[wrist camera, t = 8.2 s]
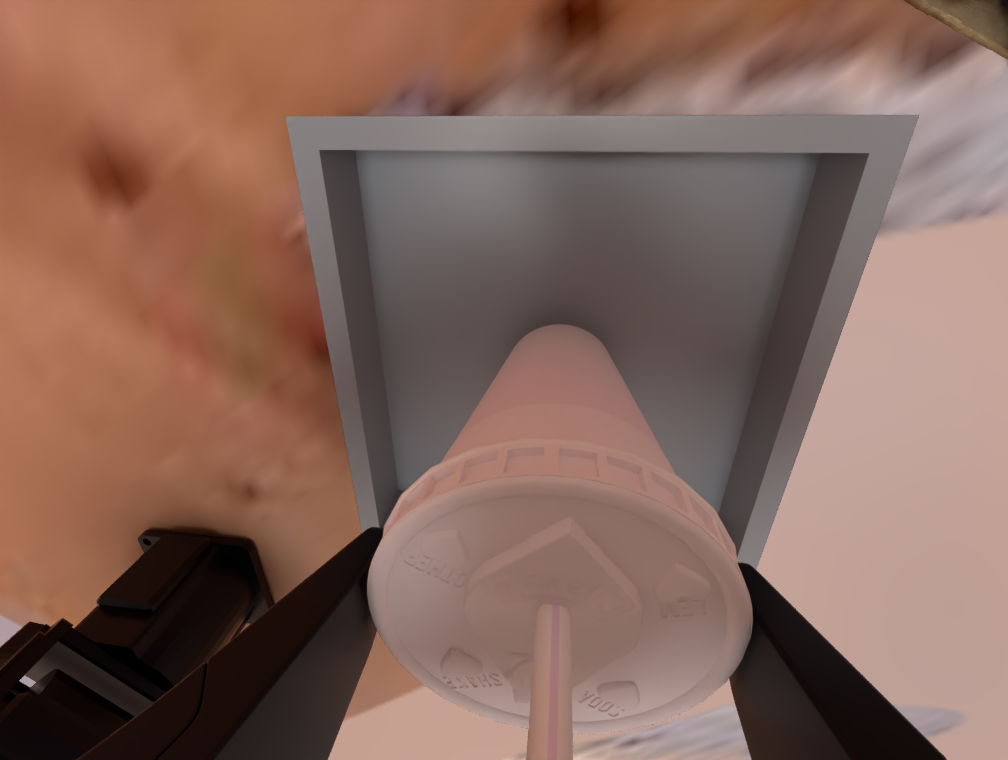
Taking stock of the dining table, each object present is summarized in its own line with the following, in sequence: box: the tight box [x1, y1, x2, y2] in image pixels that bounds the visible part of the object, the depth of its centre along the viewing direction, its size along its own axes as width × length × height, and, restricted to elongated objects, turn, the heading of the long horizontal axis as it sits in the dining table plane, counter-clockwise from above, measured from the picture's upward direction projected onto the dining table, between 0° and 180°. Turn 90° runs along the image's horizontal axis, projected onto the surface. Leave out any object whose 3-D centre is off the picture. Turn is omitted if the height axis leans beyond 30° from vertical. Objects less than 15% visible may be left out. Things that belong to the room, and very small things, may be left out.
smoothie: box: [367, 324, 753, 760], centre depth 10 cm, size 6×6×14 cm
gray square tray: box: [285, 115, 919, 569], centre depth 16 cm, size 16×16×3 cm
